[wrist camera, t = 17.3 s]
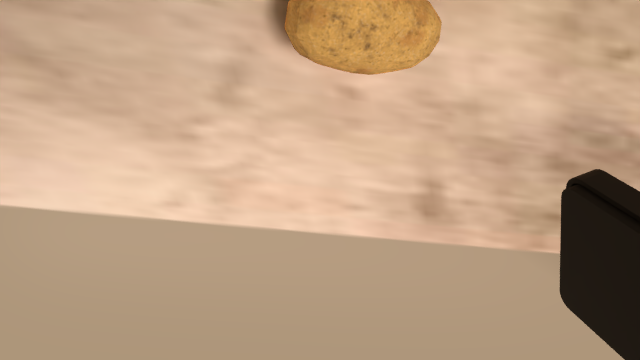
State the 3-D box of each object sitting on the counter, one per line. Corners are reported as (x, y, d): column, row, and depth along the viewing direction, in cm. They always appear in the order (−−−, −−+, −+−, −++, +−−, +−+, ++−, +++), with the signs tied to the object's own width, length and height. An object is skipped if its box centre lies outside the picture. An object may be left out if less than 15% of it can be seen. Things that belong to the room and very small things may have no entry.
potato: (287, -55, 39) (317, -45, 34) (427, -15, 43) (473, 0, 38) (263, 44, 41) (288, 69, 36) (398, 72, 46) (438, 98, 41)
